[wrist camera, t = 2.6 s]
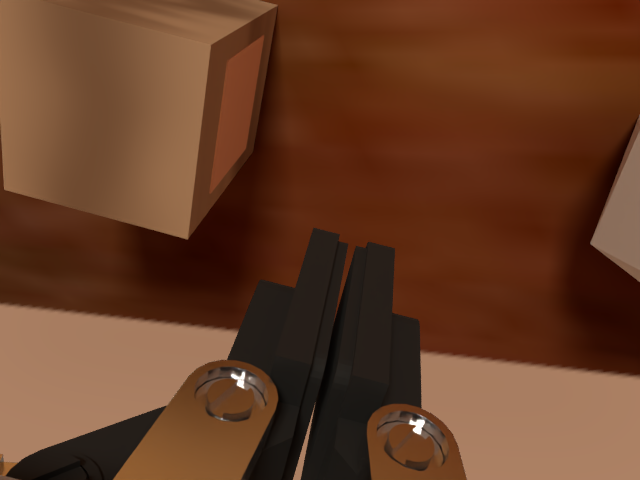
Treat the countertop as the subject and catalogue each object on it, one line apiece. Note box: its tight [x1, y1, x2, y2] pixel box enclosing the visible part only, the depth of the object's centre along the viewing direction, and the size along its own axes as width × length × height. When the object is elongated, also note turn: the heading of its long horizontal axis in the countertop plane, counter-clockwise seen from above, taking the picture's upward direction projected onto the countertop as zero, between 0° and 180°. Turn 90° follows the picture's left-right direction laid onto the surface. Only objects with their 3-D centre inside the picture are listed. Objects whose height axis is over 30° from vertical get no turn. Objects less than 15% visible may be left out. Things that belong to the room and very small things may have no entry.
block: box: [0, 0, 278, 239], centre depth 21 cm, size 6×6×8 cm
